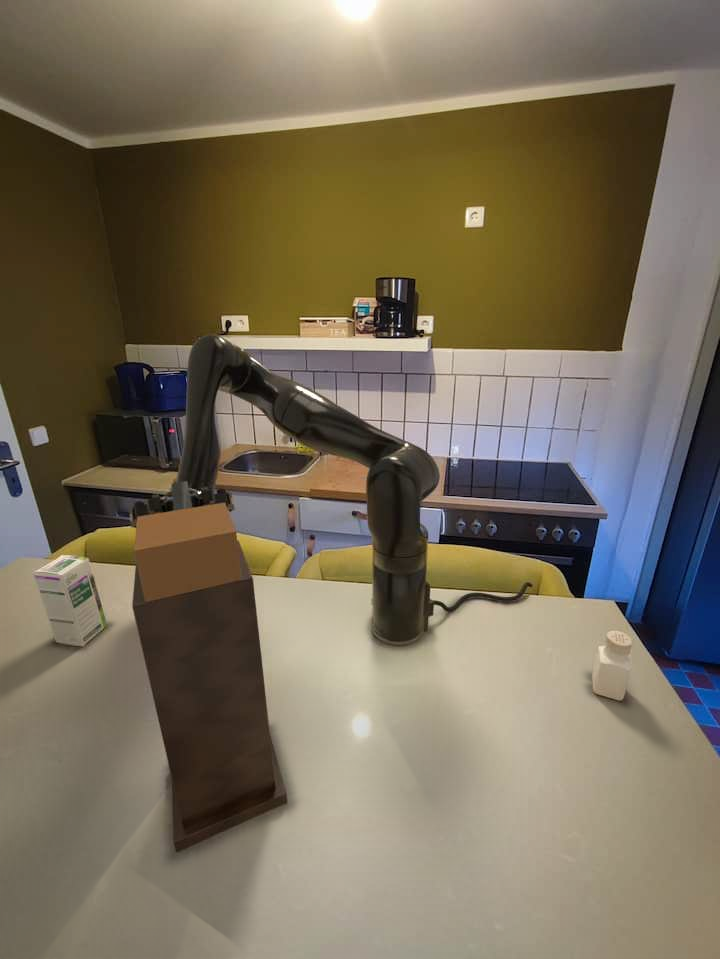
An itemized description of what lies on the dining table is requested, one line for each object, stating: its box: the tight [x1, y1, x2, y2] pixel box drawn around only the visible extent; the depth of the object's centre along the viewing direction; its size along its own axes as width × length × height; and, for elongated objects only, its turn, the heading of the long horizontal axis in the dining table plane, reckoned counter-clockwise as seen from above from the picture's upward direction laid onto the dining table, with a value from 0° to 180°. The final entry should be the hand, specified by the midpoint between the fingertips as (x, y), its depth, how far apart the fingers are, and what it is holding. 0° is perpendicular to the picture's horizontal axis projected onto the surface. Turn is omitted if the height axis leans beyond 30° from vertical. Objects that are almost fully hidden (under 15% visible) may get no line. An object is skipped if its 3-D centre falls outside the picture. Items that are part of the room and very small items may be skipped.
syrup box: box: [32, 554, 108, 648], centre depth 74 cm, size 6×6×14 cm
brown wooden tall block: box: [131, 539, 288, 853], centre depth 46 cm, size 12×10×30 cm
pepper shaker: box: [591, 630, 633, 701], centre depth 63 cm, size 4×4×10 cm
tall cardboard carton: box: [133, 481, 242, 602], centre depth 47 cm, size 8×24×5 cm, turn 24°
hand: (181, 499), depth 51 cm, fingers open, 5 cm apart
